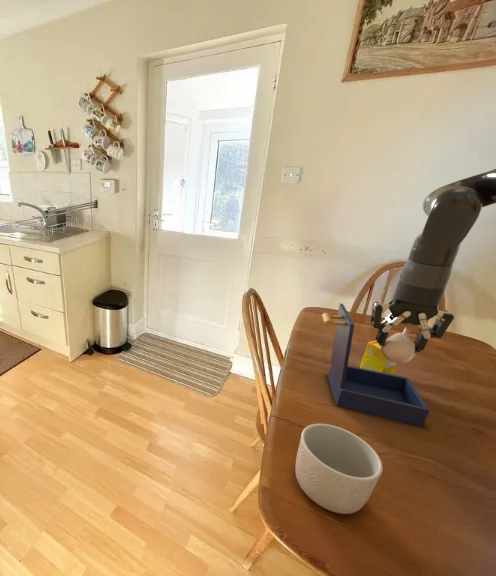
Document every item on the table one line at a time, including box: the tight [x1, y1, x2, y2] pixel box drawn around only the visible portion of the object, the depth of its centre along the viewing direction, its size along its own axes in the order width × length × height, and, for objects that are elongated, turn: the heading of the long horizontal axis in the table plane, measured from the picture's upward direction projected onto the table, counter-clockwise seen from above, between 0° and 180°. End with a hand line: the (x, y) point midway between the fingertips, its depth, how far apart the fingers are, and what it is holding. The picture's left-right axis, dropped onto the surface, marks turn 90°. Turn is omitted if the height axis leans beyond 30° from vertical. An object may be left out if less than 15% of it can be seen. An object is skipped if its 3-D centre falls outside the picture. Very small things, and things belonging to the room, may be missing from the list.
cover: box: [321, 303, 355, 389], centre depth 85 cm, size 18×14×5 cm
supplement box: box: [359, 340, 398, 375], centre depth 93 cm, size 6×6×11 cm
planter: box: [294, 423, 384, 515], centre depth 60 cm, size 12×12×11 cm
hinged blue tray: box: [327, 364, 431, 427], centre depth 84 cm, size 18×14×5 cm
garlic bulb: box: [381, 326, 417, 364], centre depth 74 cm, size 7×6×8 cm
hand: (397, 347), depth 74 cm, fingers closed on garlic bulb, 6 cm apart
